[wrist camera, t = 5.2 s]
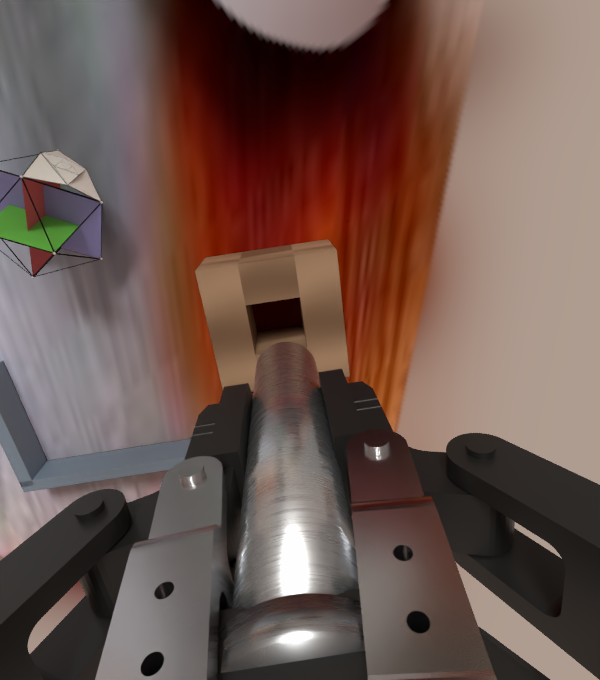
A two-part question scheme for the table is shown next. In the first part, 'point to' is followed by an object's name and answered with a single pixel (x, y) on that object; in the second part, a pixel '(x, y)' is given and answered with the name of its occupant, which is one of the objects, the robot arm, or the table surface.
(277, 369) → the cylinder
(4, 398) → the open frame
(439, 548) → the robot arm
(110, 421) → the table surface
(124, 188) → the table surface
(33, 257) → the geometric puzzle
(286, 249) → the slotted tan block
